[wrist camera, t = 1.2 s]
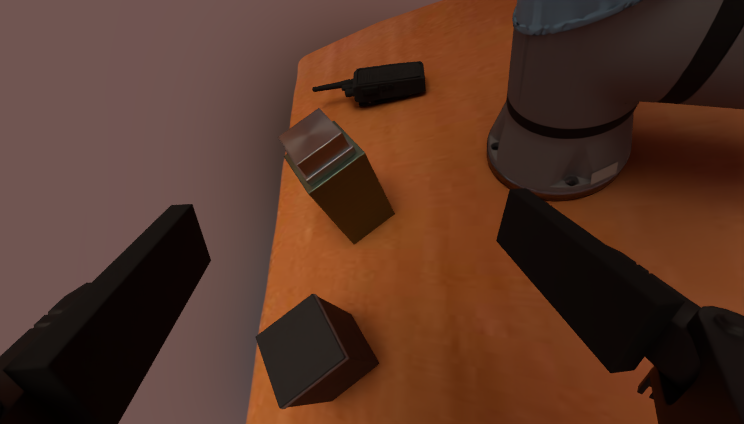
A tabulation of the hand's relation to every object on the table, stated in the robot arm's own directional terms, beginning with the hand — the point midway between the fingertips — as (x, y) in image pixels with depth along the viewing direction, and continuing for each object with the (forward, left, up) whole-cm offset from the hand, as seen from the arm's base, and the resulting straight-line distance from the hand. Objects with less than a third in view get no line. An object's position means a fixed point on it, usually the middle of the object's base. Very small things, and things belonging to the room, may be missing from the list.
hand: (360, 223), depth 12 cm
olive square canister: (-4, -17, -24) cm, 29 cm away
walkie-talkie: (-21, -33, -24) cm, 46 cm away
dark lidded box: (+10, -5, -24) cm, 26 cm away
